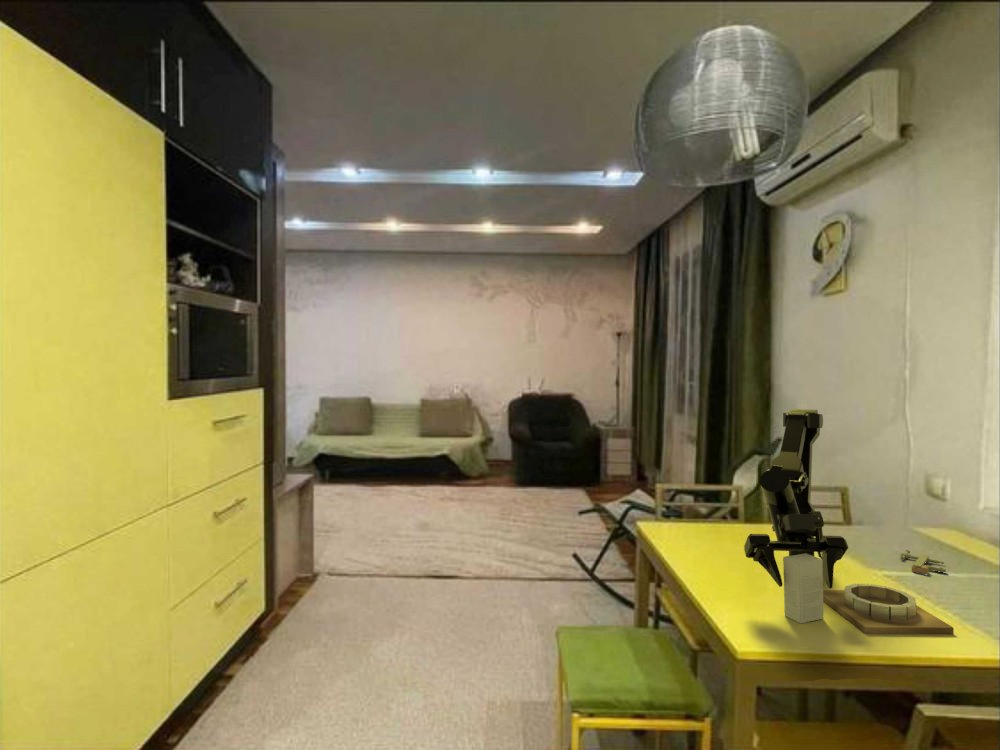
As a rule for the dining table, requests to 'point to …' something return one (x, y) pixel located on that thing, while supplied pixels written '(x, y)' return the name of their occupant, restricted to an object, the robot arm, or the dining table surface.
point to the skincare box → (803, 587)
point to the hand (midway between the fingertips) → (805, 586)
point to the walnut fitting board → (872, 625)
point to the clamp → (922, 563)
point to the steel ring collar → (877, 610)
